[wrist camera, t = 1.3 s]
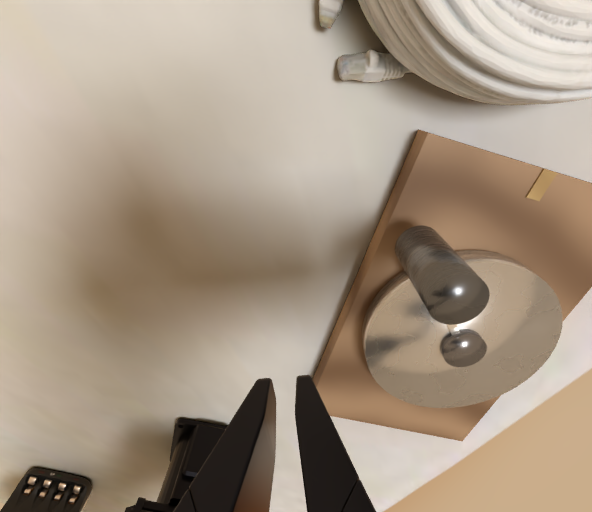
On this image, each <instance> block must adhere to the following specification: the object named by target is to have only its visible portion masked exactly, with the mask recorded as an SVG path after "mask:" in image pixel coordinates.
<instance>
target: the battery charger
mask: <svg viewBox="0 0 592 512" xmlns="http://www.w3.org/2000/svg"><path fill="white" fill-rule="evenodd" d="M91 494H92V487H91V483H90V481H88V480H87V479H85V478H82V477H79V476H75V475H71V474H67V473H63V472H58V471H52V470H47V469H40V468H33V469H30V470H29V471H28V472H27V473H26V474H25V475H24V477H23V478H22V480H21V481H20V482H19V484H18V486H17V487H16V489H15V490H14V492H13V493H12V495H11V496H10V498H9V499H8V501H7V502H6V504H5V505H4V506H3V508H2V509H1V511H0V512H82V510H83V508H84V507H85V505H86V503H87V501H88V499H89V497H90V496H91Z"/></svg>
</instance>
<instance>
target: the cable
mask: <svg viewBox="0 0 592 512" xmlns="http://www.w3.org/2000/svg"><path fill="white" fill-rule="evenodd" d="M343 2H344V0H319V20H320V26H321V27H324V28H331V27H332V25H333V23H334V21H335V20H336V18H337V16H338V15H339V13H340V11H341V9H342V5H343ZM358 2H359V4H360V6H361V9H362V11H363V13H364V15H365V17H366V19H367V20H368V22H369V24H370V26H371V27H372V29H373V31H374V32H375V33H376V35H377V36H378V38H379V39H380V40H381V42H382V43H383V44H384V46H385V47H386V48H387V50H388V51H389V52H390V53H391V54H389V53H379V52H376V51H374V50H371V49H370V50H368V51H367V52H365V53H358V54H351V55H342V56H341V57H340V58H339V59H338V62H337V70H338V74H339V77H340V79H342V80H343V81H344V80H350V79H351V80H358V81H362V82H380V81H384V80H390V79H397V78H402V77H403V75H404V74H405V73H410V72H414V73H415V74H416V75H418V76H420V77H421V78H423V79H425V80H426V81H428V82H430V83H431V84H433V85H435V86H437V87H440V88H442V89H444V90H447V91H449V92H452V93H454V94H456V95H459V96H462V97H464V98H467V99H471V100H475V101H478V102H483V103H490V104H498V105H526V104H549V103H561V102H569V101H577V100H583V99H589V98H592V0H358Z"/></svg>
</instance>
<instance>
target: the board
mask: <svg viewBox="0 0 592 512" xmlns="http://www.w3.org/2000/svg"><path fill="white" fill-rule="evenodd" d="M419 225H424V226H428V227H431V228H433V229H434V230H435V231H436V232H437V233H438V234H439V235H440V236H441V237H442V238H443V239H444V240H445V241H446V242H447V243H448V244H449V245H450V246H451V247H452V248H453V250H454V251H464V250H481V251H490V252H495V253H500V254H503V255H506V256H509V257H511V258H513V259H515V260H517V261H519V262H521V263H522V264H523V265H525V266H526V267H527V268H529V269H530V270H531V271H533V272H534V273H535V274H536V275H538V276H539V277H540V278H541V279H543V280H544V281H545V282H546V283H547V284H548V285H549V286H550V287H551V288H552V289H553V291H554V292H555V294H556V296H557V297H558V299H559V302H560V305H561V309H562V316H563V319H562V322H563V320H564V319H565V318H566V317H567V316H568V314H569V313H570V312H571V311H572V310H573V309H574V307H575V306H576V305H577V304H578V303H579V301H580V300H581V299H582V298H583V297H584V295H585V294H586V293H587V292H588V291H589V289H590V288H591V287H592V183H590V182H586V181H583V180H580V179H577V178H573V177H570V176H567V175H564V174H560V173H557V172H554V171H551V170H547V169H544V168H541V167H538V166H535V165H531V164H528V163H525V162H522V161H518V160H515V159H512V158H509V157H505V156H502V155H499V154H496V153H493V152H489V151H486V150H483V149H480V148H476V147H473V146H470V145H467V144H463V143H460V142H457V141H454V140H451V139H447V138H444V137H441V136H438V135H434V134H431V133H428V132H425V131H421V130H418V132H417V134H416V136H415V139H414V141H413V143H412V146H411V148H410V151H409V153H408V155H407V158H406V160H405V162H404V165H403V167H402V169H401V172H400V174H399V176H398V179H397V181H396V184H395V186H394V188H393V191H392V193H391V195H390V198H389V200H388V202H387V205H386V207H385V209H384V212H383V214H382V217H381V219H380V221H379V224H378V226H377V228H376V231H375V233H374V235H373V238H372V240H371V243H370V245H369V247H368V250H367V252H366V254H365V257H364V259H363V261H362V264H361V266H360V268H359V271H358V273H357V276H356V278H355V280H354V283H353V285H352V287H351V290H350V292H349V294H348V297H347V299H346V301H345V304H344V306H343V309H342V311H341V313H340V316H339V318H338V320H337V323H336V325H335V327H334V330H333V332H332V334H331V337H330V339H329V342H328V344H327V346H326V349H325V351H324V353H323V356H322V358H321V360H320V363H319V365H318V367H317V370H316V372H315V375H314V377H313V379H312V380H313V382H314V384H315V386H316V388H317V390H318V392H319V394H320V397H321V399H322V401H323V403H324V405H325V407H326V409H327V411H328V413H329V415H330V416H334V417H340V418H345V419H350V420H355V421H360V422H366V423H371V424H376V425H381V426H386V427H391V428H397V429H402V430H407V431H412V432H417V433H422V434H428V435H433V436H438V437H443V438H448V439H454V440H459V441H463V440H464V438H465V437H466V436H467V435H468V434H469V433H470V431H471V430H472V429H473V428H474V427H475V425H476V424H477V423H478V422H479V421H480V419H481V418H482V417H483V416H484V415H485V413H486V412H487V411H488V410H489V409H490V407H491V406H492V405H493V404H494V403H495V402H496V400H497V399H498V398H499V397H500V396H501V395H500V396H498V397H495V398H492V399H490V400H487V401H484V402H480V403H477V404H473V405H468V406H463V407H454V408H430V407H423V406H418V405H414V404H410V403H407V402H405V401H402V400H400V399H398V398H396V397H394V396H392V395H391V394H389V393H388V392H386V391H385V390H384V389H383V388H382V387H381V386H380V385H379V384H378V383H377V382H376V381H375V379H374V378H373V376H372V374H371V372H370V371H369V368H368V365H367V361H366V357H365V353H364V349H363V344H362V326H363V322H364V318H365V315H366V313H367V310H368V308H369V306H370V305H371V303H372V301H373V300H374V298H375V297H376V296H377V294H378V293H379V292H380V290H381V289H382V288H383V287H384V286H385V285H386V284H387V283H388V282H389V281H391V280H392V279H393V278H394V277H396V276H397V275H398V274H400V273H401V272H403V271H404V268H403V267H402V265H401V263H400V261H399V260H398V258H397V256H396V254H395V244H396V241H397V239H398V237H399V236H400V235H401V234H402V233H403V232H404V231H405V230H407V229H409V228H411V227H414V226H419Z"/></svg>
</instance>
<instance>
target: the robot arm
mask: <svg viewBox="0 0 592 512" xmlns="http://www.w3.org/2000/svg"><path fill="white" fill-rule="evenodd" d="M295 418H296V427H297V434H298V442H299V450H300V458H301V466H302V474H303V481H304V489H305V497H306V505H307V512H376V511H375V509H374V507H373V505H372V503H371V501H370V499H369V497H368V495H367V493H366V491H365V489H364V487H363V484H362V482H361V481H360V480H359V476H358V474H357V472H356V470H355V468H354V466H353V464H352V462H351V460H350V457H349V455H348V453H347V451H346V449H345V447H344V445H343V443H342V441H341V439H340V436H339V434H338V432H337V430H336V428H335V426H334V424H333V422H332V420H331V418H330V415H329V413H328V411H327V409H326V407H325V405H324V403H323V401H322V399H321V397H320V394H319V392H318V390H317V388H316V386H315V384H314V382H313V380H312V378H311V376H310V375H302V376H298V377H297V381H296V401H295ZM275 450H276V397H275V392H274V388H273V383H272V380H271V379H270V378H264V379H258V380H257V381H256V382H255V384H254V386H253V387H252V389H251V390H250V392H249V393H248V395H247V397H246V398H245V400H244V401H243V403H242V404H241V406H240V408H239V409H238V411H237V412H236V414H235V415H234V417H233V419H232V420H231V422H230V423H229V425H228V427H226V426H220V425H215V424H209V423H204V422H198V421H193V420H187V419H178V420H177V422H176V424H175V430H174V436H173V442H172V449H171V455H170V465H169V468H168V471H167V474H166V476H165V479H164V482H163V485H162V488H161V491H160V494H159V497H158V499H157V502H153V501H147V500H146V499H145V498H140V497H139V498H138V500H137V503H136V505H134V506H131V507H127V508H126V510H125V512H269V507H270V498H271V490H272V482H273V473H274V465H275Z"/></svg>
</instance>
